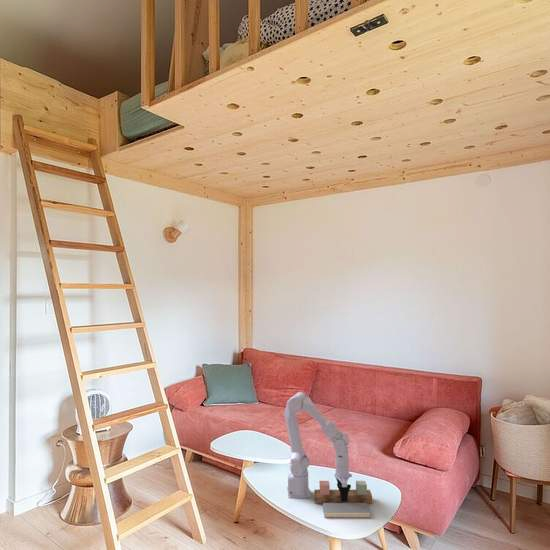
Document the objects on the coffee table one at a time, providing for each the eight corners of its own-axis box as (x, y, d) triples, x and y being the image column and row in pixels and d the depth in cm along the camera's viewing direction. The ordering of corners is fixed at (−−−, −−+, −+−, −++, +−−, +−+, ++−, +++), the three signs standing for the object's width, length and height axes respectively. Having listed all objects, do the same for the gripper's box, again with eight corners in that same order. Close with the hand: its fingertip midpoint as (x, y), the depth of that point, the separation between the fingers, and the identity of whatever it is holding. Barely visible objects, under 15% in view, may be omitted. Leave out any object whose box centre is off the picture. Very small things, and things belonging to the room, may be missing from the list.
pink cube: (320, 494, 171) (320, 485, 171) (319, 490, 175) (319, 480, 175) (329, 494, 170) (329, 485, 171) (328, 490, 174) (328, 480, 175)
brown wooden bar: (315, 504, 170) (315, 495, 170) (314, 498, 175) (314, 489, 175) (372, 505, 169) (372, 495, 169) (370, 499, 174) (369, 489, 174)
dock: (324, 517, 160) (324, 512, 160) (322, 507, 167) (322, 502, 167) (369, 517, 159) (369, 512, 159) (366, 507, 166) (366, 503, 166)
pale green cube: (357, 494, 170) (357, 485, 170) (356, 490, 174) (355, 480, 174) (367, 494, 170) (366, 485, 170) (365, 490, 174) (365, 480, 174)
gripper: (353, 471, 165) (355, 505, 165) (348, 457, 180) (349, 488, 179) (336, 471, 166) (337, 505, 165) (333, 457, 180) (334, 488, 180)
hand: (342, 496), depth 172 cm, fingers open, 7 cm apart
